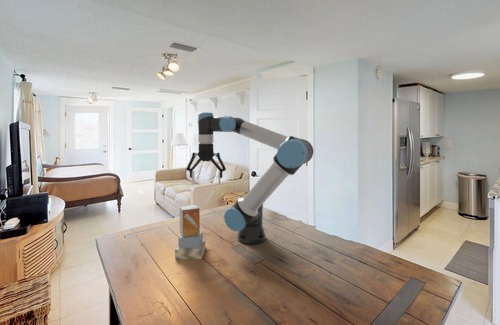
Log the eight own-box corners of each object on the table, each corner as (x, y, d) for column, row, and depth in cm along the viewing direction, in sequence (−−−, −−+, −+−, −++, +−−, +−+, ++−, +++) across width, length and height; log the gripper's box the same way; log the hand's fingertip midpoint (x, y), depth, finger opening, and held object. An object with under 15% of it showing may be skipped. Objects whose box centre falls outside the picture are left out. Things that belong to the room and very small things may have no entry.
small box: (182, 237, 117) (182, 210, 115) (179, 233, 122) (179, 206, 121) (200, 234, 121) (199, 207, 119) (196, 230, 126) (195, 204, 125)
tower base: (205, 248, 129) (205, 238, 129) (201, 259, 117) (201, 249, 117) (181, 248, 129) (181, 238, 128) (175, 259, 117) (175, 249, 116)
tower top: (202, 240, 126) (202, 230, 126) (198, 248, 117) (197, 238, 117) (184, 239, 127) (184, 230, 126) (178, 247, 118) (178, 237, 117)
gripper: (230, 143, 135) (230, 182, 138) (183, 142, 134) (183, 182, 137) (230, 143, 128) (230, 185, 130) (179, 143, 127) (180, 185, 129)
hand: (206, 184), depth 134 cm, fingers open, 13 cm apart
